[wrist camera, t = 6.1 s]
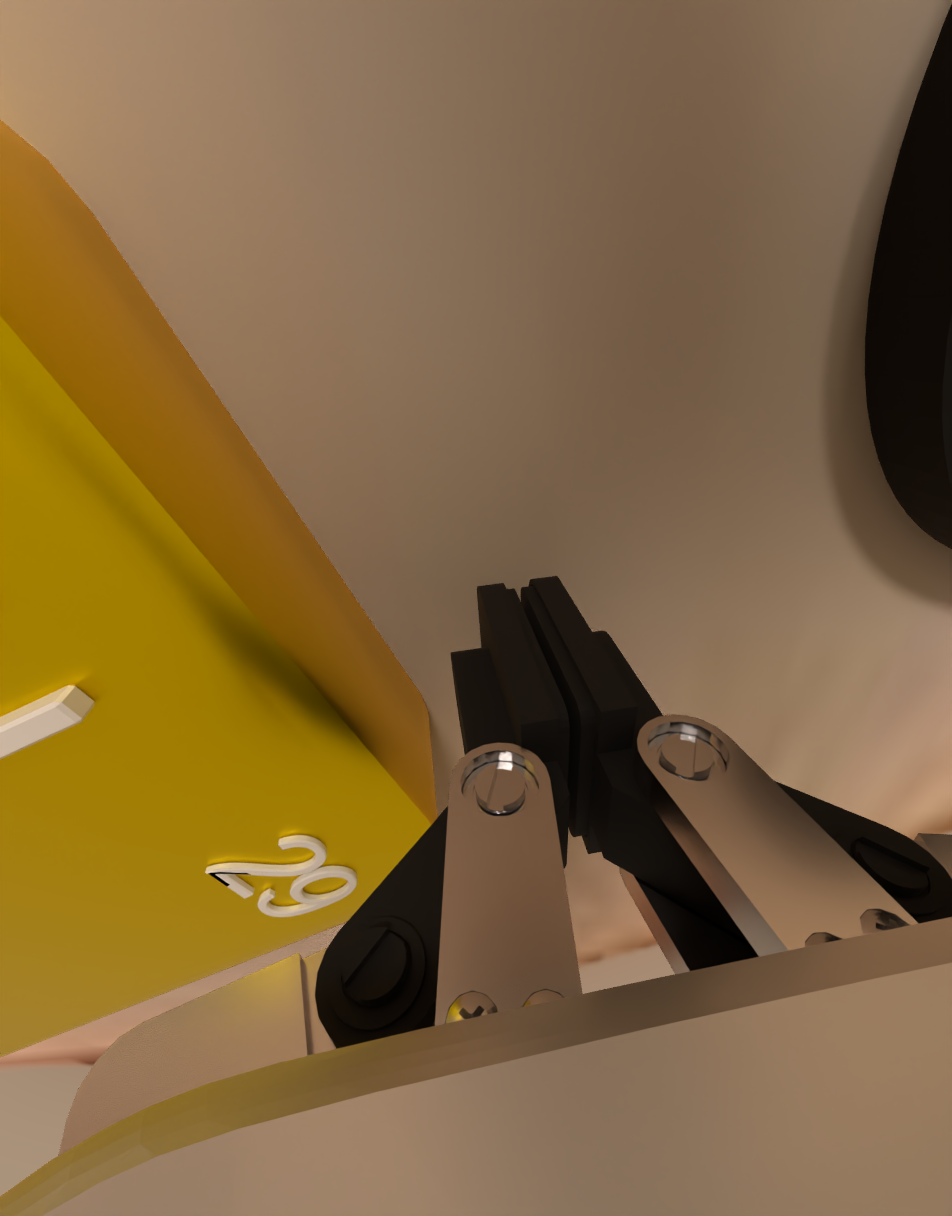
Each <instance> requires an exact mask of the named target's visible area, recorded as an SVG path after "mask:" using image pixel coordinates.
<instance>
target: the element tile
mask: <svg viewBox="0 0 952 1216" xmlns="http://www.w3.org/2000/svg"><path fill="white" fill-rule="evenodd" d="M437 818H438V816H437V805H436V794H435V783H434V771H433V760H432V749H431V737H430V726H429V715H428V710H427V708H426V705H425V703H424V700H423V698H422V696H421V694H420V692H419V691H418V690H417V688H416V687H415V685H414V684H413V682H412V681H411V679H410V678H409V676H408V675H407V673H406V672H405V670H404V669H403V668H402V666H401V665H400V663H399V662H398V660H397V659H396V657H395V656H394V654H393V653H392V651H391V650H390V649H389V647H388V646H387V644H386V643H385V641H384V640H383V638H382V637H381V635H380V634H379V632H378V631H377V629H376V628H375V627H374V625H373V624H372V622H371V621H370V619H369V618H368V616H367V615H366V613H365V612H364V610H363V609H362V607H361V606H360V605H359V603H358V602H357V600H356V599H355V597H354V596H353V594H352V593H351V591H350V590H349V588H348V587H347V585H346V584H345V583H344V581H343V580H342V578H341V577H340V575H339V574H338V572H337V571H336V569H335V568H334V566H333V565H332V563H331V562H330V561H329V559H328V558H327V556H326V555H325V553H324V552H323V550H322V549H321V547H320V546H319V544H318V543H317V542H316V540H315V539H314V537H313V536H312V534H311V533H310V531H309V530H308V528H307V527H306V525H305V524H304V522H303V521H302V520H301V518H300V517H299V515H298V514H297V512H296V511H295V509H294V508H293V506H292V505H291V503H290V502H289V500H288V499H287V498H286V496H285V495H284V493H283V492H282V490H281V489H280V487H279V486H278V484H277V483H276V481H275V480H274V478H273V477H272V476H271V474H270V473H269V471H268V470H267V468H266V467H265V465H264V464H263V462H262V461H261V459H260V458H259V456H258V455H257V454H256V452H255V451H254V449H253V448H252V446H251V445H250V443H249V442H248V440H247V439H246V437H245V436H244V434H243V433H242V432H241V430H240V429H239V427H238V426H237V424H236V423H235V421H234V420H233V418H232V417H231V415H230V414H229V413H228V411H227V410H226V408H225V407H224V405H223V404H222V402H221V401H220V399H219V398H218V396H217V395H216V393H215V392H214V391H213V389H212V388H211V386H210V385H209V383H208V382H207V380H206V379H205V377H204V376H203V374H202V373H201V371H200V370H199V369H198V367H197V366H196V364H195V363H194V361H193V360H192V358H191V357H190V355H189V354H188V352H187V351H186V349H185V348H184V347H183V345H182V344H181V342H180V341H179V339H178V338H177V336H176V335H175V333H174V332H173V330H172V329H171V327H170V326H169V325H168V323H167V322H166V320H165V319H164V317H163V316H162V314H161V313H160V311H159V310H158V308H157V307H156V305H155V304H154V303H153V301H152V300H151V298H150V297H149V295H148V294H147V292H146V291H145V289H144V288H143V286H142V285H141V284H140V282H139V281H138V279H137V278H136V276H135V275H134V273H133V272H132V270H131V269H130V267H129V266H128V264H127V263H126V262H125V260H124V259H123V257H122V256H121V254H120V253H119V251H118V250H117V248H116V247H115V245H114V244H113V242H112V241H111V240H110V238H109V237H108V235H107V234H106V232H105V231H104V229H103V228H102V226H101V225H100V223H99V222H98V220H97V219H96V218H95V216H94V215H93V213H92V212H91V211H90V210H89V208H88V207H87V206H86V205H85V204H84V202H83V201H82V200H81V199H80V198H79V196H78V195H77V194H76V193H75V192H74V191H73V189H72V188H71V187H70V186H69V185H68V183H67V182H66V181H65V180H64V179H63V177H62V176H61V175H60V174H59V173H58V171H57V170H56V169H55V168H54V167H53V165H52V164H51V163H50V162H49V161H48V160H47V159H46V158H45V157H44V156H42V155H41V154H40V153H39V152H38V151H37V150H35V149H34V148H33V147H32V146H31V145H30V144H28V143H27V142H26V141H25V140H24V139H22V138H21V137H20V136H19V135H18V134H17V133H15V132H14V131H13V130H12V129H11V128H10V127H8V126H7V125H6V124H5V123H4V122H3V121H1V120H0V1057H2V1056H5V1055H8V1054H10V1053H13V1052H15V1051H18V1050H20V1049H23V1048H25V1047H28V1046H31V1045H33V1044H36V1043H38V1042H41V1041H43V1040H46V1039H49V1038H51V1037H54V1036H56V1035H59V1034H61V1033H64V1032H66V1031H69V1030H72V1029H74V1028H77V1027H79V1026H82V1025H84V1024H87V1023H89V1022H92V1021H95V1020H97V1019H100V1018H102V1017H105V1016H107V1015H110V1014H112V1013H115V1012H118V1011H120V1010H123V1009H125V1008H128V1007H130V1006H133V1005H136V1004H138V1003H141V1002H143V1001H146V1000H148V999H151V998H153V997H156V996H159V995H161V994H164V993H166V992H169V991H171V990H174V989H176V988H179V987H182V986H184V985H187V984H189V983H192V982H194V981H197V980H199V979H202V978H205V977H207V976H210V975H212V974H215V973H217V972H220V971H222V970H225V969H228V968H230V967H233V966H235V965H238V964H240V963H243V962H246V961H248V960H251V959H253V958H256V957H258V956H261V955H263V954H266V953H269V952H271V951H274V950H276V949H279V948H281V947H284V946H286V945H289V944H292V943H294V942H297V941H299V940H302V939H304V938H307V937H309V936H312V935H315V934H317V933H320V932H322V931H325V930H327V929H330V928H333V927H335V926H338V925H340V924H343V923H345V922H347V921H348V920H349V919H350V918H351V917H352V916H353V915H354V913H355V912H356V911H357V910H358V909H359V908H360V906H361V905H362V904H363V903H364V902H365V901H366V900H367V898H368V897H369V896H370V895H371V894H372V893H373V892H374V890H375V889H376V888H377V887H378V886H379V885H380V883H381V882H382V881H383V880H384V879H385V878H386V877H387V875H388V874H389V873H390V872H391V871H392V870H393V869H394V867H395V866H396V865H397V864H398V863H399V862H400V860H401V859H402V858H403V857H404V856H405V855H406V854H407V852H408V851H409V850H410V849H411V848H412V847H413V846H414V844H415V843H416V842H417V841H418V840H419V839H420V837H421V836H422V835H423V834H424V833H425V832H426V831H427V829H428V828H429V827H430V826H431V825H432V824H433V823H434V821H435V820H436V819H437Z"/></svg>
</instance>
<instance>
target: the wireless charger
mask: <svg viewBox="0 0 952 1216" xmlns="http://www.w3.org/2000/svg"><path fill="white" fill-rule="evenodd" d="M865 382H866V397H867V408H868V414H869V421H870V427H871V433H872V437H873V441H874V445H875V448H876V452H877V456H878V459H879V462H880V464H881V467H882V470H883V472H884V475H885V477H886V480H887V482H888V484H889V486H890V487H891V489H892V491H893V493H894V495H895V497H896V499H897V500H898V501H899V503H900V504H901V506H902V507H903V508H904V510H905V511H906V512H907V514H908V515H909V516H910V517H911V518H912V519H913V520H914V521H915V522H916V523H917V525H918V526H919V527H920V528H921V529H923V530H924V531H925V532H926V533H928V534H929V535H930V536H931V537H933V538H934V539H935V540H937V541H939V542H940V543H942V544H944V545H945V546H947V547H949V548H951V549H952V5H951V7H950V10H949V12H948V14H947V17H946V19H945V22H944V24H943V26H942V29H941V32H940V34H939V37H938V40H937V43H936V45H935V48H934V51H933V54H932V56H931V59H930V62H929V65H928V67H927V70H926V73H925V75H924V78H923V81H922V84H921V86H920V89H919V92H918V95H917V98H916V101H915V104H914V108H913V111H912V114H911V117H910V120H909V123H908V127H907V130H906V133H905V136H904V139H903V142H902V146H901V149H900V152H899V156H898V159H897V163H896V167H895V171H894V175H893V178H892V182H891V186H890V190H889V194H888V197H887V201H886V205H885V210H884V214H883V219H882V224H881V229H880V234H879V239H878V243H877V248H876V253H875V259H874V266H873V273H872V279H871V286H870V293H869V300H868V312H867V324H866V336H865Z"/></svg>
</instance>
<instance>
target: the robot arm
mask: <svg viewBox="0 0 952 1216" xmlns="http://www.w3.org/2000/svg"><path fill="white" fill-rule="evenodd" d="M477 598H478V610H479V623H480V635H481V647H482V648H478V649H471V650H465V651H458V652H451V661H452V669H453V678H454V685H455V693H456V700H457V707H458V714H459V720H460V727H461V733H462V739H463V745H464V752H465V756H464V757H462V758H461V759H460V760H459V762H458V763H457V765H456V766H455V768H454V769H453V772H452V776H451V780H450V786H449V802H448V806H447V808H446V809H445V810H444V811H443V812H442V813H441V814H440V816H439V817H438V818H437V819H436V820H435V821H434V823H433V824H432V825H431V826H430V827H429V828H428V829H427V831H426V832H425V833H424V834H423V835H422V836H421V837H420V839H419V840H418V841H417V842H416V843H415V844H414V846H413V847H412V848H411V849H410V850H409V851H408V852H407V854H406V855H405V856H404V857H403V858H402V859H401V860H400V862H399V863H398V864H397V865H396V866H395V867H394V869H393V870H392V871H391V872H390V873H389V874H388V875H387V877H386V878H385V879H384V880H383V881H382V882H381V883H380V885H379V886H378V887H377V888H376V889H375V890H374V892H373V893H372V894H371V895H370V896H369V897H368V898H367V900H366V901H365V902H364V903H363V904H362V905H361V906H360V908H359V909H358V910H357V911H356V912H355V913H354V915H353V916H352V917H351V918H350V919H349V920H348V921H347V923H346V924H345V925H344V926H343V927H342V928H341V929H340V931H339V932H338V933H337V935H336V936H335V938H334V939H333V940H332V942H331V943H330V945H329V946H328V948H325V949H323V950H321V951H319V952H317V953H314V954H312V955H310V956H308V957H306V958H303V959H302V957H301V955H300V954H299V953H297V954H295V955H293V956H290V957H288V958H286V959H284V960H281V961H279V962H277V963H275V964H273V965H270V966H268V967H266V968H264V969H261V970H259V971H257V972H255V973H252V974H250V975H248V976H246V977H243V978H241V979H239V980H237V981H235V982H232V983H230V984H228V985H226V986H223V987H221V988H219V989H217V990H214V991H212V992H210V993H208V994H206V995H203V996H201V997H199V998H197V999H194V1000H192V1001H190V1002H188V1003H185V1004H183V1005H181V1006H179V1007H176V1008H174V1009H172V1010H170V1011H168V1012H165V1013H163V1014H161V1015H159V1016H156V1017H154V1018H152V1019H150V1020H147V1021H145V1022H143V1023H141V1024H140V1025H138V1026H137V1027H135V1028H133V1029H132V1030H130V1031H129V1032H127V1033H126V1034H124V1035H122V1036H121V1037H119V1038H118V1039H117V1040H116V1041H115V1042H114V1043H113V1044H112V1045H111V1046H110V1047H109V1048H108V1049H107V1050H106V1052H105V1053H104V1054H103V1055H102V1056H101V1057H100V1058H99V1059H98V1060H97V1061H96V1062H95V1064H94V1065H93V1067H92V1068H91V1070H90V1072H89V1073H88V1075H87V1076H86V1078H85V1079H84V1081H83V1082H82V1084H81V1086H80V1087H79V1088H78V1091H77V1093H76V1096H75V1099H74V1101H73V1104H72V1107H71V1109H70V1112H69V1115H68V1117H67V1120H66V1124H65V1129H64V1133H63V1138H62V1142H61V1147H60V1151H59V1155H58V1157H56V1158H54V1159H53V1160H51V1161H50V1162H48V1163H47V1164H45V1165H44V1166H42V1167H41V1168H40V1169H38V1170H37V1171H36V1172H34V1173H33V1174H31V1175H30V1176H28V1177H27V1178H26V1179H24V1180H23V1181H21V1182H20V1183H19V1184H17V1185H16V1186H14V1187H13V1188H12V1189H10V1190H9V1191H8V1192H6V1193H5V1194H3V1195H2V1196H0V1216H952V835H944V834H922V833H918V834H917V836H916V837H915V839H914V840H911V839H910V838H908V837H906V836H904V835H902V834H900V833H898V832H896V831H894V830H893V829H891V828H889V827H886V826H884V825H881V824H879V823H876V822H874V821H871V820H869V819H867V818H864V817H862V816H859V815H857V814H854V813H852V812H849V811H847V810H844V809H842V808H840V807H837V806H835V805H832V804H830V803H827V802H825V801H822V800H820V799H817V798H815V797H813V796H810V795H808V794H805V793H803V792H800V791H798V790H795V789H793V788H790V787H788V786H786V785H783V784H781V783H778V782H776V781H773V780H772V779H771V778H770V777H769V776H768V775H767V774H766V773H765V772H764V771H763V770H762V769H761V768H760V767H759V766H758V765H757V764H756V763H755V762H754V761H753V760H752V759H751V758H750V757H749V756H748V755H747V754H746V753H745V752H744V751H743V750H742V749H741V748H740V747H739V746H738V745H737V744H736V743H735V742H734V741H733V740H732V739H731V738H730V737H729V736H728V735H726V734H725V733H724V732H722V731H721V730H720V729H719V728H717V727H716V726H714V725H712V724H710V723H708V722H706V721H704V720H701V719H698V718H694V717H690V716H687V715H673V714H672V715H665V716H663V715H662V713H661V712H660V710H659V709H658V707H657V706H656V704H655V703H654V701H653V700H652V698H651V697H650V695H649V694H648V692H647V691H646V689H645V688H644V686H643V685H642V683H641V682H640V680H639V679H638V677H637V676H636V674H635V673H634V671H633V670H632V668H631V667H630V665H629V664H628V662H627V661H626V659H625V658H624V656H623V655H622V653H621V652H620V650H619V649H618V647H617V646H616V644H615V643H614V641H613V640H612V638H611V637H610V636H609V634H608V633H607V632H605V631H596V632H592V631H591V629H590V628H589V626H588V625H587V623H586V621H585V620H584V618H583V617H582V615H581V613H580V612H579V610H578V609H577V607H576V605H575V604H574V602H573V600H572V599H571V597H570V596H569V594H568V592H567V591H566V589H565V588H564V586H563V584H562V583H561V581H560V580H559V578H558V577H557V576H552V577H545V578H537V579H531V580H530V582H529V587H522V588H521V602H520V600H519V597H518V595H517V593H516V591H515V589H506V587H505V585H504V583H500V584H492V585H485V586H477ZM568 827H569V830H570V833H571V834H572V836H573V837H577V836H582V838H583V841H584V843H585V846H586V849H587V852H588V854H591V853H596V852H602V854H603V857H604V858H605V859H607V860H608V861H610V862H612V863H613V864H615V865H617V866H619V870H620V874H621V877H622V879H623V882H624V884H625V886H626V888H627V890H628V891H629V893H630V895H631V897H632V898H633V900H634V902H635V904H636V905H637V907H638V909H639V911H640V913H641V914H642V916H643V918H644V920H645V921H646V923H647V925H648V927H649V929H650V930H651V932H652V934H653V936H654V937H655V939H656V941H657V943H658V944H659V946H660V948H661V950H662V952H663V953H664V955H665V957H666V959H667V960H668V962H669V964H670V965H671V968H672V969H673V971H674V973H675V975H670V976H665V977H661V978H656V979H651V980H646V981H642V982H637V983H633V984H627V985H623V986H619V987H613V988H609V989H604V990H599V991H595V992H590V993H586V994H582V988H581V981H580V974H579V968H578V961H577V954H576V948H575V941H574V935H573V928H572V921H571V915H570V908H569V901H568V895H567V888H566V881H565V875H564V868H565V867H566V864H567V844H568Z"/></svg>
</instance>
